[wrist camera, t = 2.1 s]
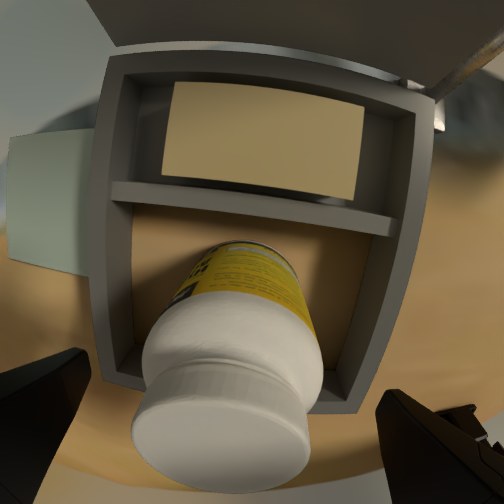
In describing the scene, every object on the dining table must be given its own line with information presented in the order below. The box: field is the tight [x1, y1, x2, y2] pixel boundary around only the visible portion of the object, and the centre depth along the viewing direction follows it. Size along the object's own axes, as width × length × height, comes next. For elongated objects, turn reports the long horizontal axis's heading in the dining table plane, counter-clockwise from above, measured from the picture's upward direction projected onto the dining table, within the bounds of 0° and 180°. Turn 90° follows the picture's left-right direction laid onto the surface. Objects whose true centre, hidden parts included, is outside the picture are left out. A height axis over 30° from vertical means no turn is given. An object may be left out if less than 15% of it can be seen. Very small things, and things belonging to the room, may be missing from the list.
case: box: [87, 50, 435, 414], centre depth 12 cm, size 16×14×3 cm
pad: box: [6, 128, 94, 277], centre depth 13 cm, size 8×8×1 cm
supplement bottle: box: [131, 240, 323, 494], centre depth 10 cm, size 5×5×10 cm
